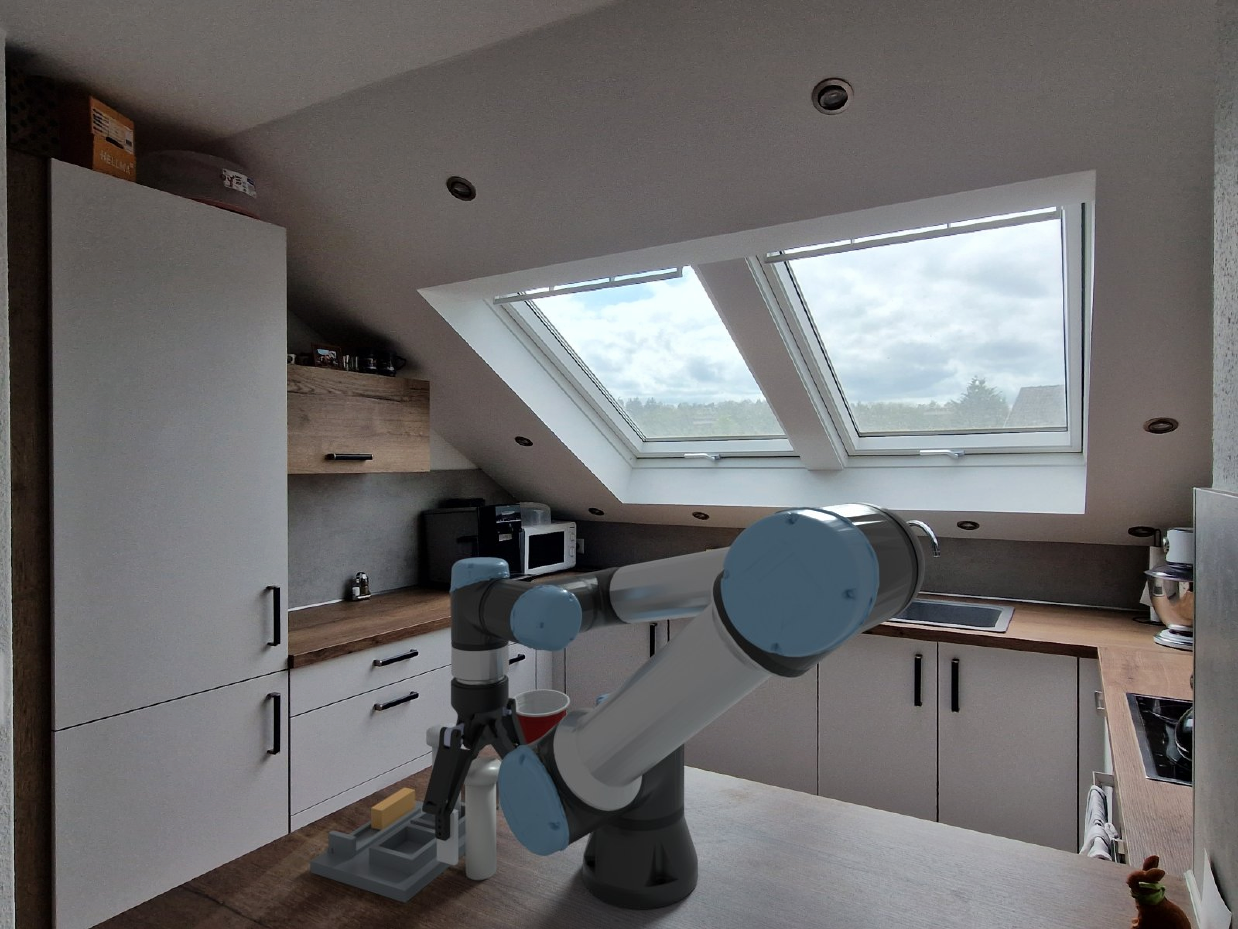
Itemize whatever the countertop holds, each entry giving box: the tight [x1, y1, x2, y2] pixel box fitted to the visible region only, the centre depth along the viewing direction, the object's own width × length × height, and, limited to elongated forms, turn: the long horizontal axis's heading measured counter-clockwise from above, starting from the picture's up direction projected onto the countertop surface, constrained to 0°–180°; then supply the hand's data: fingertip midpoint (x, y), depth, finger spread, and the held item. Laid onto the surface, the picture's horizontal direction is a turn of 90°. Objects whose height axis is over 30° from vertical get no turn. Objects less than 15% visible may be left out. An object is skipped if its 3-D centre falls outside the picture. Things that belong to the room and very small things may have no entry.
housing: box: [309, 722, 466, 903], centre depth 100 cm, size 16×19×16 cm
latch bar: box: [370, 787, 416, 830], centre depth 106 cm, size 2×7×3 cm, turn 155°
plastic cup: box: [512, 688, 571, 744], centre depth 127 cm, size 11×11×12 cm
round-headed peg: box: [463, 756, 502, 881], centre depth 95 cm, size 6×6×14 cm
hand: (479, 835), depth 95 cm, fingers open, 13 cm apart
